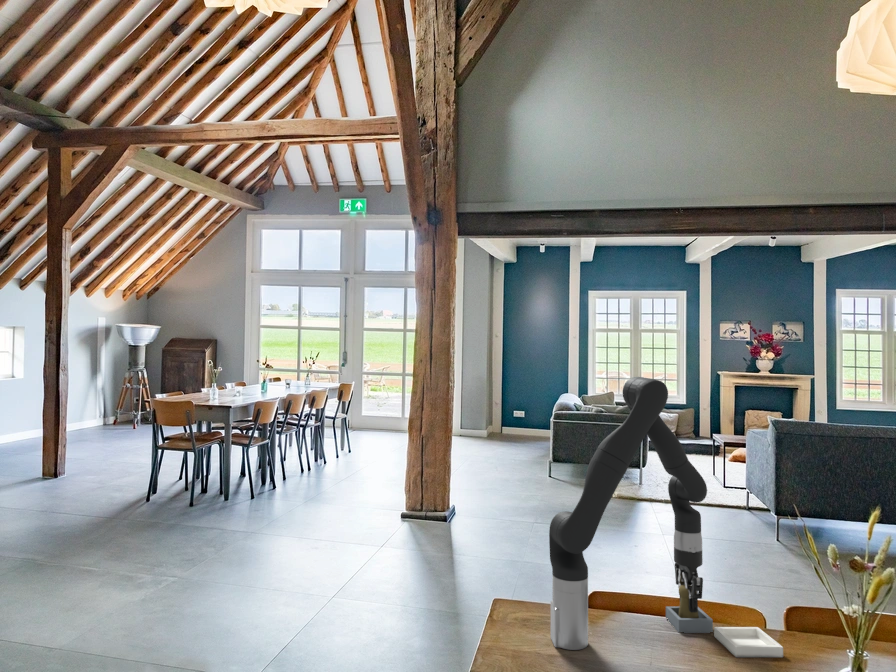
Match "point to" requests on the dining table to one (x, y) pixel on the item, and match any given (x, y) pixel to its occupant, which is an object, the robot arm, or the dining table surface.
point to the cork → (685, 604)
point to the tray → (748, 642)
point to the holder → (689, 621)
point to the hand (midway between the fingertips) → (688, 607)
